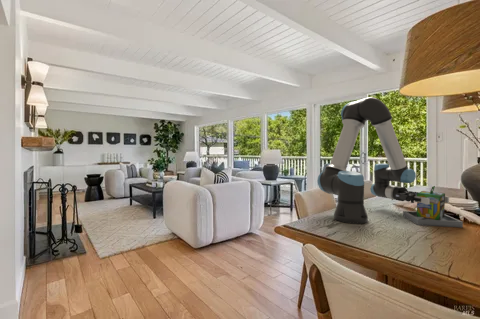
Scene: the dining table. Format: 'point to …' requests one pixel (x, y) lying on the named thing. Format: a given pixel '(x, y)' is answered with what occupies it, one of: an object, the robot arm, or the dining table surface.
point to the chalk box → (431, 205)
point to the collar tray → (432, 220)
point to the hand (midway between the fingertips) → (438, 200)
